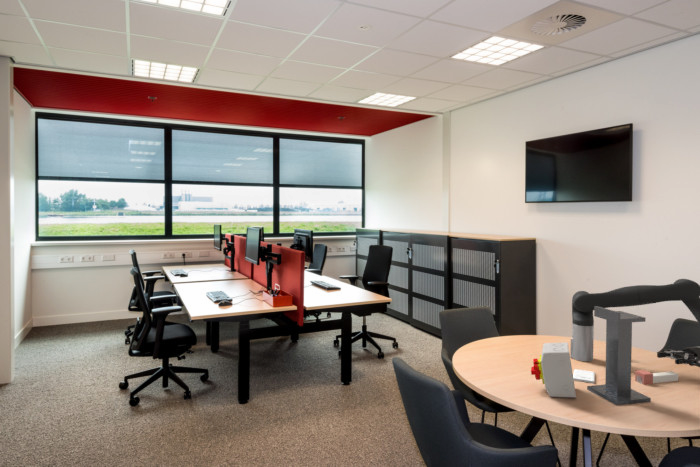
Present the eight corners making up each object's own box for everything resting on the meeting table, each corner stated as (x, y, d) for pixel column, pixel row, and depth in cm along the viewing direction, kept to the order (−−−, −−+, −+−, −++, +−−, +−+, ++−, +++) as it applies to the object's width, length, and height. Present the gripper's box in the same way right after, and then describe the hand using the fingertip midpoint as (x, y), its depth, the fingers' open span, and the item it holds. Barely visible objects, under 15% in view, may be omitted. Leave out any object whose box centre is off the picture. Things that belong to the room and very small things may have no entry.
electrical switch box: (536, 386, 184) (528, 340, 185) (574, 387, 178) (567, 339, 178) (534, 400, 171) (526, 350, 172) (576, 401, 165) (568, 349, 165)
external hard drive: (594, 375, 193) (594, 385, 182) (574, 372, 197) (572, 381, 186) (594, 371, 193) (594, 381, 182) (574, 368, 197) (572, 377, 186)
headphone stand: (619, 386, 178) (620, 303, 177) (650, 402, 164) (652, 311, 162) (587, 389, 176) (588, 305, 174) (616, 405, 161) (617, 313, 159)
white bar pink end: (670, 377, 188) (670, 367, 188) (679, 381, 184) (680, 371, 184) (635, 381, 185) (635, 370, 184) (643, 384, 180) (644, 374, 180)
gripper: (683, 342, 194) (652, 344, 191) (715, 352, 180) (682, 354, 177) (682, 358, 194) (652, 361, 191) (714, 369, 180) (682, 372, 177)
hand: (666, 358), depth 184 cm, fingers open, 8 cm apart
